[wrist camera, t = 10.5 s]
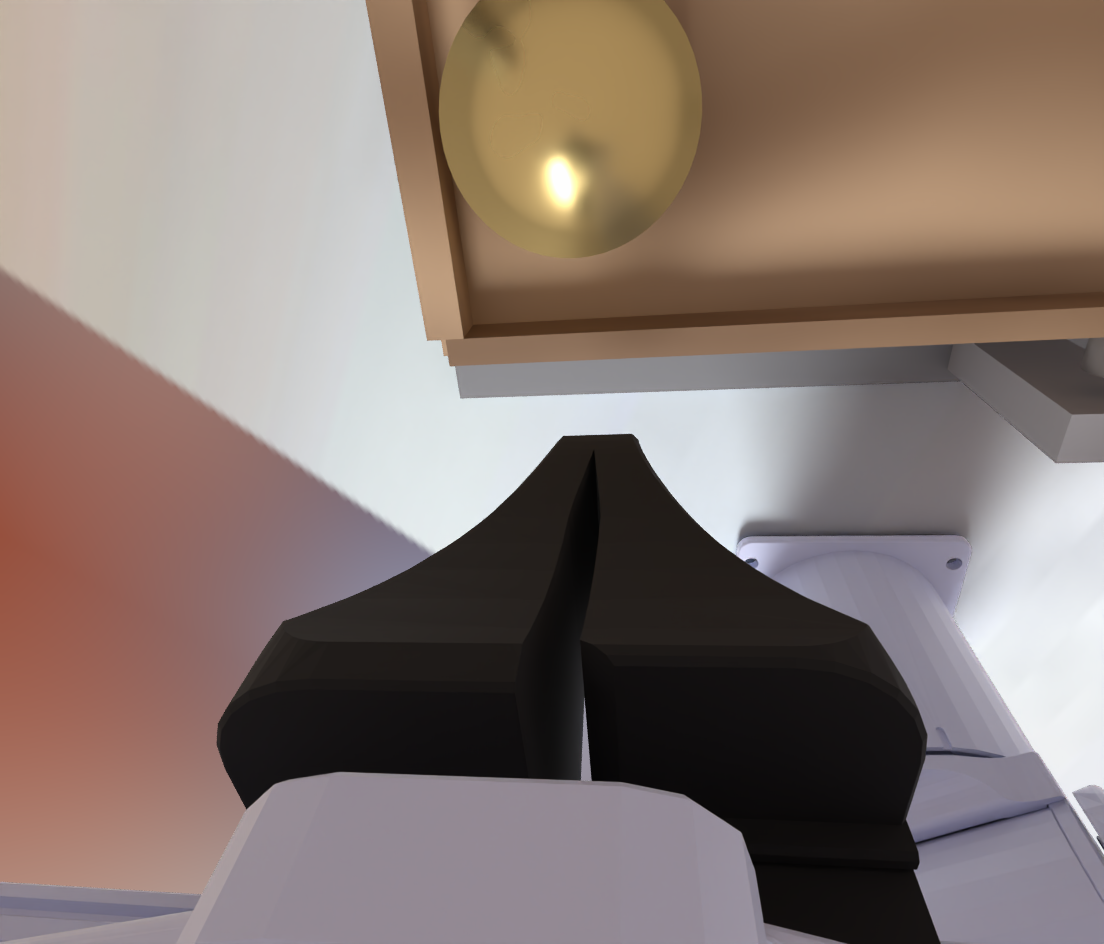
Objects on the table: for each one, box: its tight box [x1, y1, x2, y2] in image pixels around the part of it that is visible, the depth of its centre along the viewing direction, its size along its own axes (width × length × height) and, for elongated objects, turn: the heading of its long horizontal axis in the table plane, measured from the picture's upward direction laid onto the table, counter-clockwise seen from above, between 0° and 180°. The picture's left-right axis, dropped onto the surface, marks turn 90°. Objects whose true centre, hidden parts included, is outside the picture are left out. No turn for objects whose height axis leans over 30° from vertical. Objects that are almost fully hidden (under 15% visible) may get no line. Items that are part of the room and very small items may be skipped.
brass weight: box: [439, 0, 702, 258], centre depth 11 cm, size 4×4×3 cm
